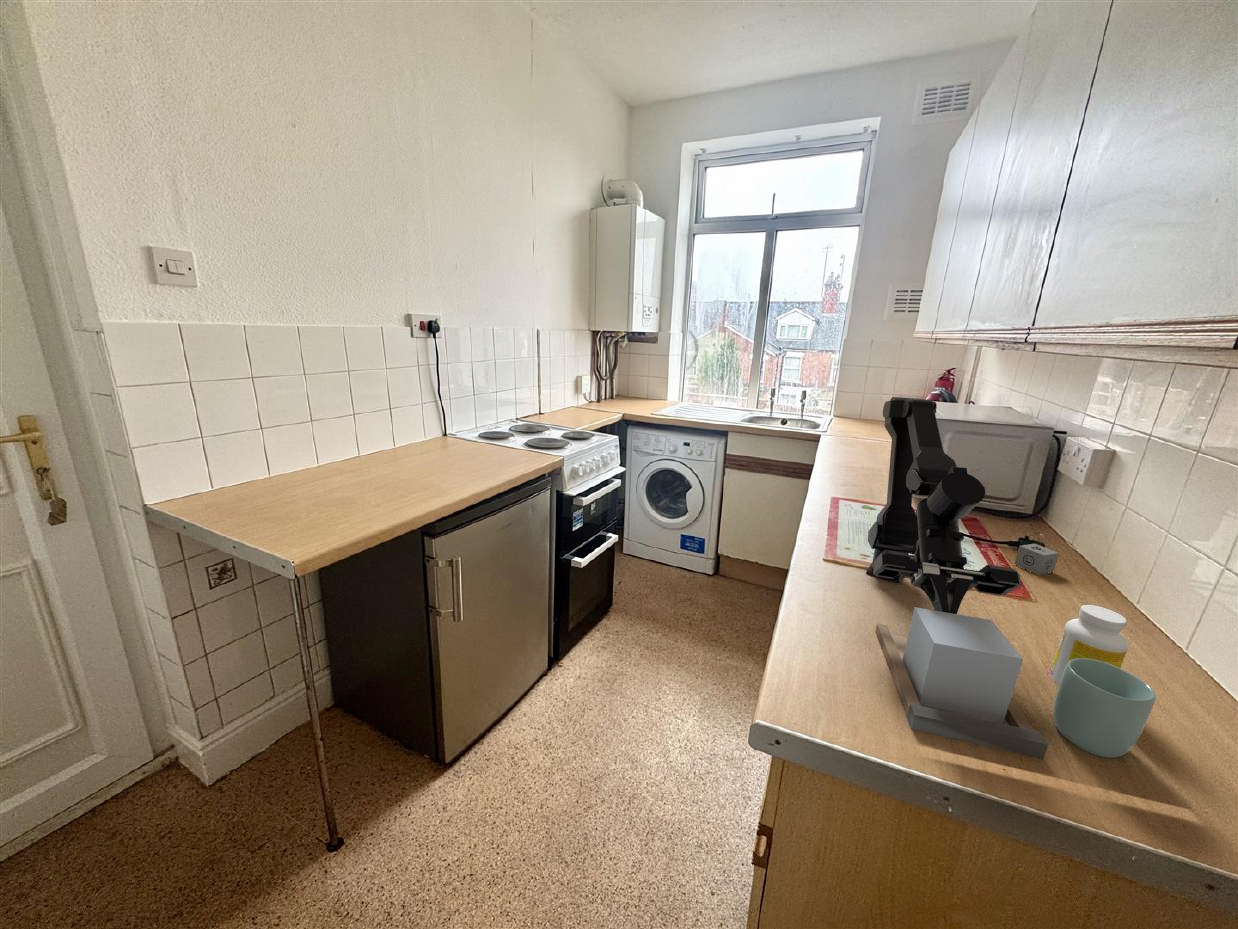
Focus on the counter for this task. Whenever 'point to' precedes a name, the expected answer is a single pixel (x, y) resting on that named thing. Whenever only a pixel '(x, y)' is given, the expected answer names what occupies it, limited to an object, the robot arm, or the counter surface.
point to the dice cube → (1036, 558)
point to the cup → (1101, 707)
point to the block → (961, 664)
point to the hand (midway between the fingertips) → (947, 627)
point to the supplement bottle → (1091, 639)
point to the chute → (976, 730)
